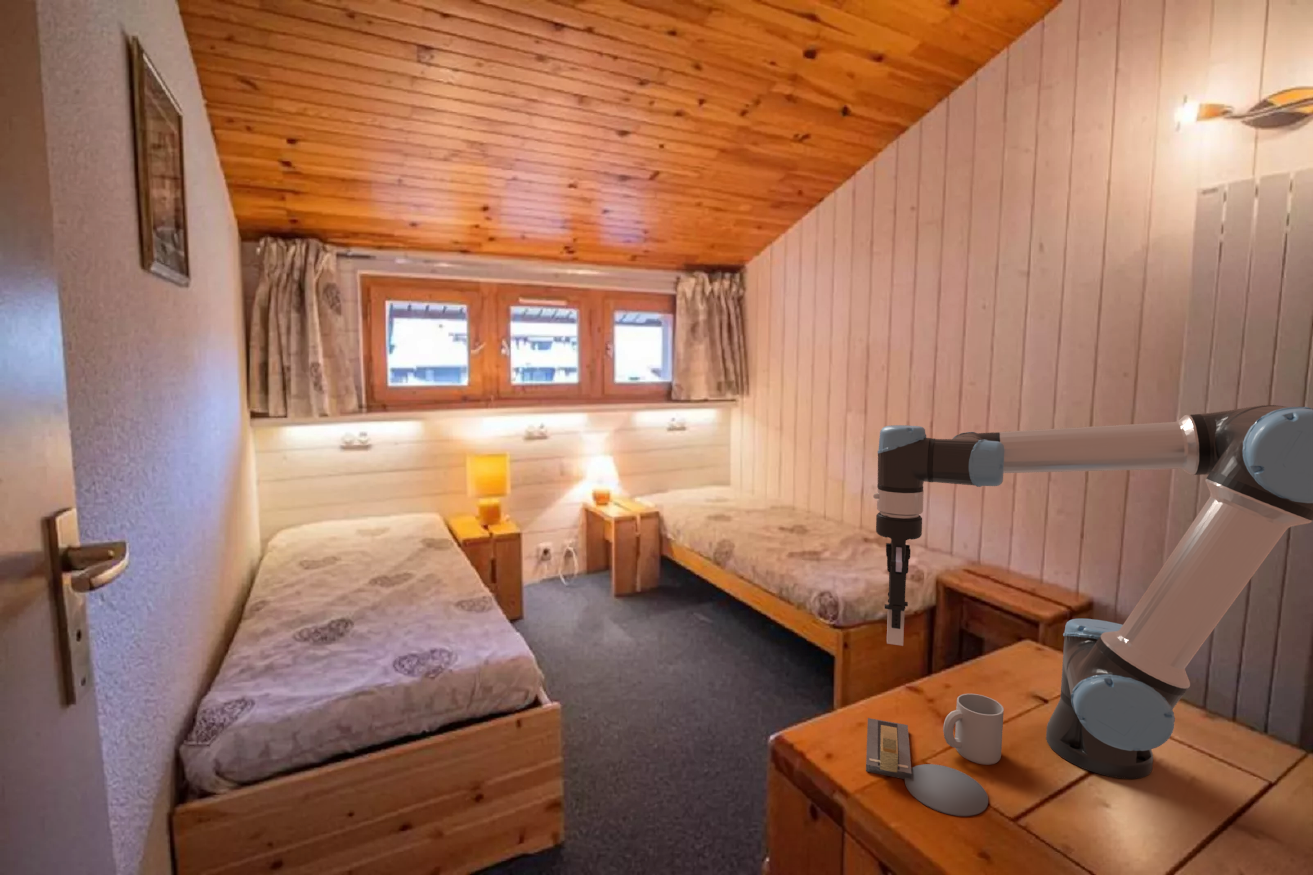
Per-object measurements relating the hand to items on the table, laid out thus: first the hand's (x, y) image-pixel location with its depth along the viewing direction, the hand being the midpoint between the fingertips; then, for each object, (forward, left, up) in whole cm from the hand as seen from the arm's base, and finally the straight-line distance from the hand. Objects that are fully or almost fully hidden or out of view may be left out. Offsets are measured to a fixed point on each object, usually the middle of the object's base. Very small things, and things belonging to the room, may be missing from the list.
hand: (894, 642), depth 110 cm
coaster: (-8, +12, -18) cm, 23 cm away
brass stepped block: (+1, +9, -16) cm, 19 cm away
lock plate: (+1, +4, -18) cm, 18 cm away
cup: (-13, 0, -18) cm, 22 cm away
